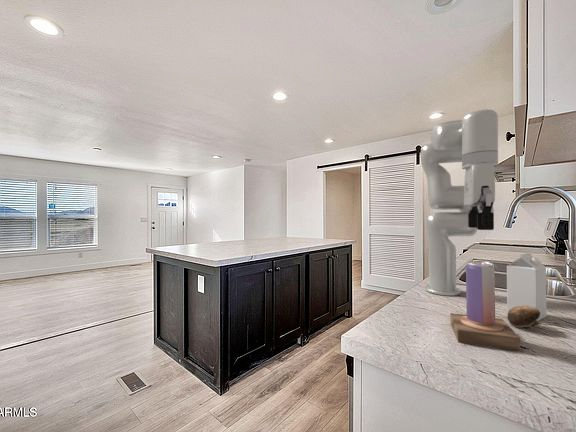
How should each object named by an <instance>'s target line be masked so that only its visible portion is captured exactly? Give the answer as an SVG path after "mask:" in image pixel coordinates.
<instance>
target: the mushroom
mask: <svg viewBox="0 0 576 432" xmlns="http://www.w3.org/2000/svg"><path fill="white" fill-rule="evenodd" d="M539 316H540V312H539V310H538V309H536V308H534V307H529V306H516V307H513V308H512V309H510V310H509V312H508V314H507V321H508V322H509V324H510V325H511V326H513V327H516V328H524V327H528V328H529V329H531V328H534V327H537V326H539V325H541V324H542V322H540V321H537V319H538V318H539Z"/></svg>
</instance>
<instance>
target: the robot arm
mask: <svg viewBox="0 0 576 432" xmlns="http://www.w3.org/2000/svg"><path fill="white" fill-rule="evenodd" d="M498 117H499V116H498V113H497V111H496V110H493V109H478V110H475V111H472V112H468V113H467V114H465V115H464V116H463V117H462V119H454V120H446V121H443V122H440V123H436V124H435V125H434V127H433V128H432V130H431V135H430V143H428V144H425V145H423V146H422V147H421V150H420V162H421V167H422V168H423V169H422V170H423V172H424V174H425V177H426V181H427V182H426V183H427V196H428V197H427V198H428V199H427V200H428V205H429V206H430V207H429V208H431V209H433V210H437V212H433V213H430V214H429V215H428V216H427V217H426V218H425V227H426V234H427V240H428V242H427V243H428V284H427V285H425V286H424V290H425V291H426V292H428V293H431V294H434V295H440V296H448V297H449V296H451V297H453V296H454V297H455V296H459V295H461V294H462V290H461V289H460V288H458V287H457V249H456V245H455V244H454V242H452V240H450V239H449V238H450V237H451V238H452V237H473V236H475V234H477V231H478V230H479V231H494V227H495V226H494V225H495V223H494V222H495V218H494V217H495V214H494V212H495V211H494V210H495V209H494V207H493V206H494V203H495V200H496V180H495V179H496V176H495V167H498V166H499V118H498ZM449 163H450V164H452V163H461V168H462V170H465V173H464V185H452V178H451V176H452V175H451V174H450V172H449V171H448V170H447V169H446V168H445V167H443V166H442V165H441V164H449ZM439 210H442V212H441V211H440V212H439ZM443 210H446V211H445V212H444V211H443ZM447 210H448V212H447ZM449 210H457V211H455V212H454V211H453V212H451V211H449Z"/></svg>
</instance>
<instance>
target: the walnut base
mask: <svg viewBox="0 0 576 432" xmlns="http://www.w3.org/2000/svg"><path fill="white" fill-rule="evenodd" d="M449 315H450V316H449V317H450V318H449V320H450V326H451V328H452V330H453V333H454V336H455V338H456V340H457V342H458V343H461V344H468V345H469V344H470V345H475V346H481V347H489V348H495V349H503V350H510V351H515V352H521V337H519V335H518V334H517V333H516V332H515V330H513V329H512V327H511V326H510V325H508V323H507V322H506V321H505V320H504V319H503V318H496V317H495V323H494V324H493V325H491V326H483V325H478V324H474V323H472V322H470V321H469V320H468V318H467V314H462V313H453V312H450V314H449Z"/></svg>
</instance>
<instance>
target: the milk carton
mask: <svg viewBox="0 0 576 432" xmlns="http://www.w3.org/2000/svg"><path fill="white" fill-rule="evenodd" d="M519 256H520V257H519V258H517V259H515V260H514V261H512V262H510V263H509V264H507V265H506V306H507V307H506V311H507V312H506V314H507V315H508V312H509V310H510V309H512V308H513V307H516V306H529V307H534V308H536V309H538V310H539V312H540V316H539V318H538V319H537V321H538V322H540V321H541V320H543V319H544V318H546V317H547V267H546V266H545V265H544V264H543V263H541V262H542V261H541V260H540V259H538V258H537V257H534V256H533V255H532V252H531V251H529V252H524V253H520V255H519Z"/></svg>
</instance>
